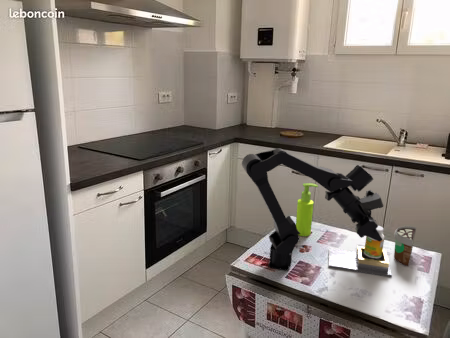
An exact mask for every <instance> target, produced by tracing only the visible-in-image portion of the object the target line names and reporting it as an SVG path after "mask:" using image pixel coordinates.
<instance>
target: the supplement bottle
mask: <svg viewBox="0 0 450 338" xmlns="http://www.w3.org/2000/svg"><path fill="white" fill-rule="evenodd" d="M376 229H377V231H378V233H379V234H380V236H381V238H382V241H380V242H379V241H377V240H375V239H372V238H370V237H367V236H365V242H364V243H365V244H364V247H365V248H364V254H365V255H366V256H368V257H370V258H380V257H381V255H382V250H384V243H385V235H384V234H383V233H384V227H383V226H380V225H378V227H377V228H376Z"/></svg>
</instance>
